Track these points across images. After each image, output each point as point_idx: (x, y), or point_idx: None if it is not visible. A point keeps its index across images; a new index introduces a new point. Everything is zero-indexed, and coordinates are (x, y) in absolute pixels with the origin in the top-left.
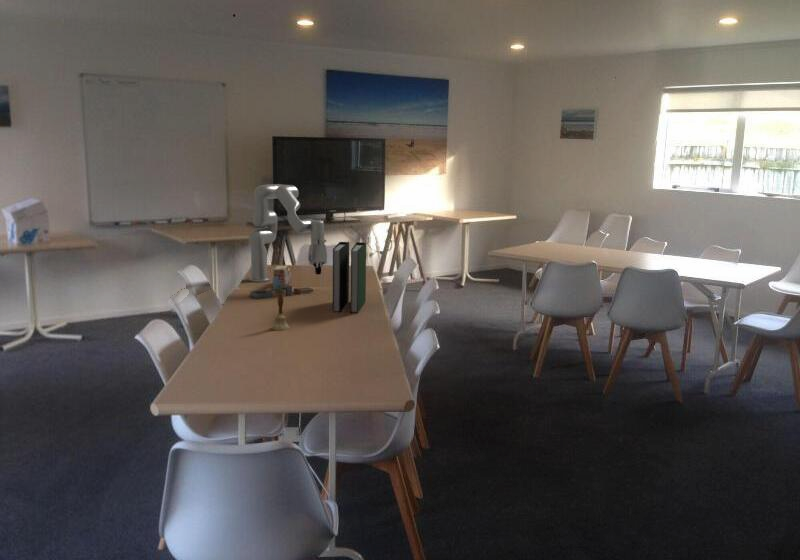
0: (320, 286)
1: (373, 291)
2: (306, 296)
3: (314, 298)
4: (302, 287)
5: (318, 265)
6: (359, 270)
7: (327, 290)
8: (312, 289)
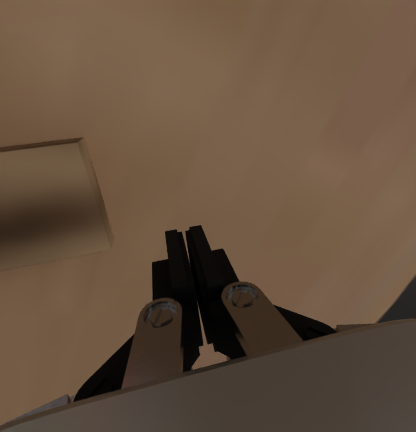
0: (247, 29)
1: (400, 280)
2: (47, 319)
3: (86, 361)
4: (29, 168)
5: (227, 321)
6: None
7: (229, 200)
8: (107, 249)
